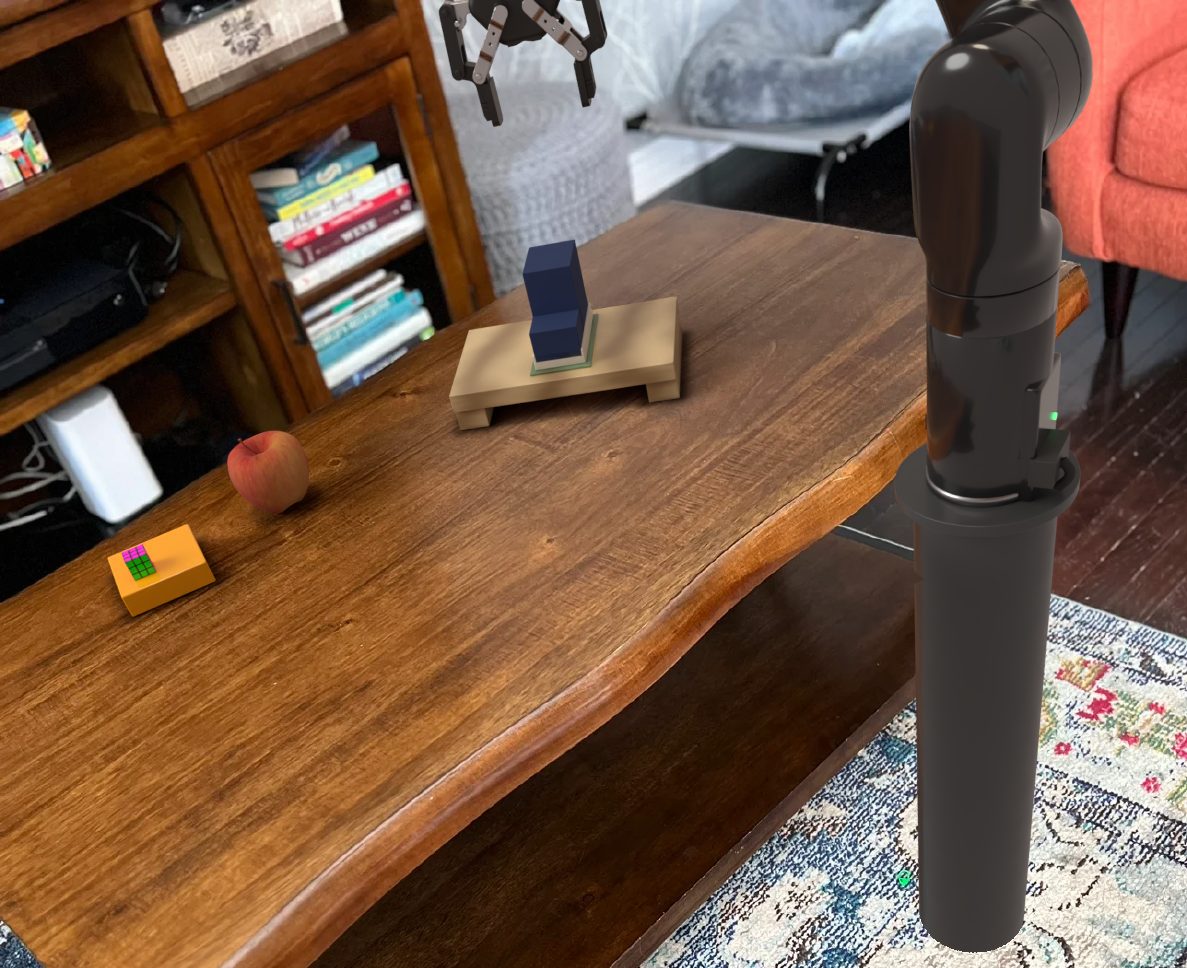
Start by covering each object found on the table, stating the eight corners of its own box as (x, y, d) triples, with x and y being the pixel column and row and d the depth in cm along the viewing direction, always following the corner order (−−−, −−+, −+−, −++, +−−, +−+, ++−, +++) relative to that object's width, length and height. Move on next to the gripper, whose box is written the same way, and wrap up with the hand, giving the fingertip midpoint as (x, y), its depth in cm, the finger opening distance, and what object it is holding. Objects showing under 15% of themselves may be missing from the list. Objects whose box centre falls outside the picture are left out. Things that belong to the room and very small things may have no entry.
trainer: (545, 323, 126) (527, 245, 120) (593, 315, 125) (577, 236, 119) (535, 370, 119) (515, 290, 113) (586, 363, 118) (568, 281, 112)
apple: (336, 494, 118) (306, 419, 113) (278, 534, 115) (245, 460, 109) (291, 477, 122) (260, 404, 117) (234, 515, 119) (199, 442, 114)
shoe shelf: (682, 333, 127) (676, 294, 124) (679, 401, 118) (673, 360, 115) (478, 365, 131) (468, 328, 128) (459, 433, 122) (448, 394, 119)
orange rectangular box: (117, 576, 115) (96, 539, 112) (197, 542, 117) (178, 504, 114) (132, 617, 110) (110, 579, 107) (216, 581, 111) (196, 542, 108)
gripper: (406, -64, 102) (463, 143, 113) (573, -108, 99) (614, 110, 110) (423, -82, 107) (476, 118, 118) (581, -124, 104) (620, 86, 115)
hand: (542, 114), depth 114 cm, fingers open, 8 cm apart
